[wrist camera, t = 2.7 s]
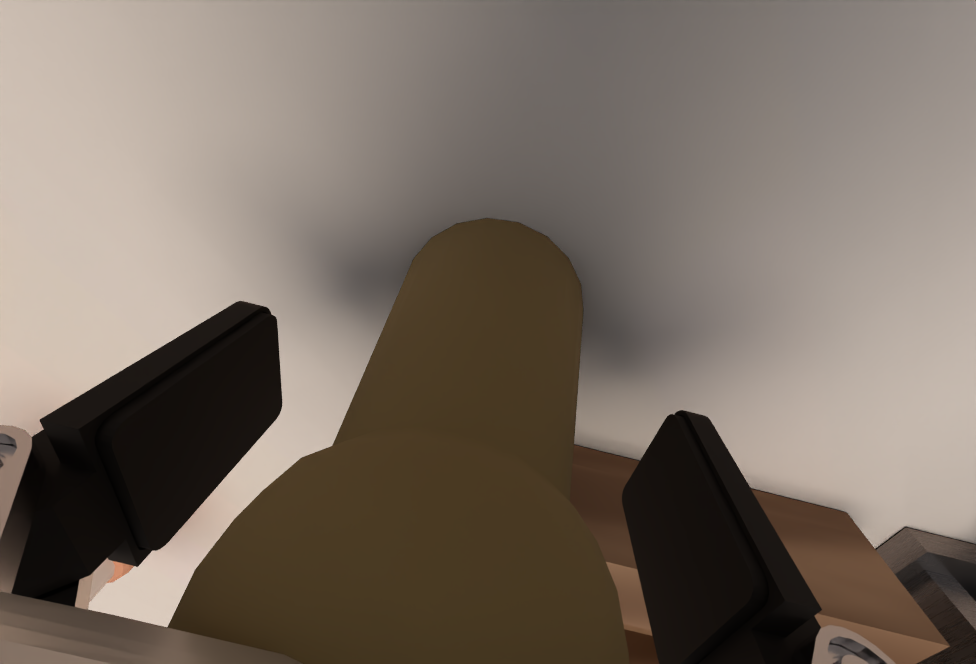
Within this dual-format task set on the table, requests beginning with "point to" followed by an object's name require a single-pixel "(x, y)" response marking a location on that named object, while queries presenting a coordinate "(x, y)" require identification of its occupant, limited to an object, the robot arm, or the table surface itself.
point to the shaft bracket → (939, 587)
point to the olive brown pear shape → (435, 487)
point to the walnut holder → (808, 539)
